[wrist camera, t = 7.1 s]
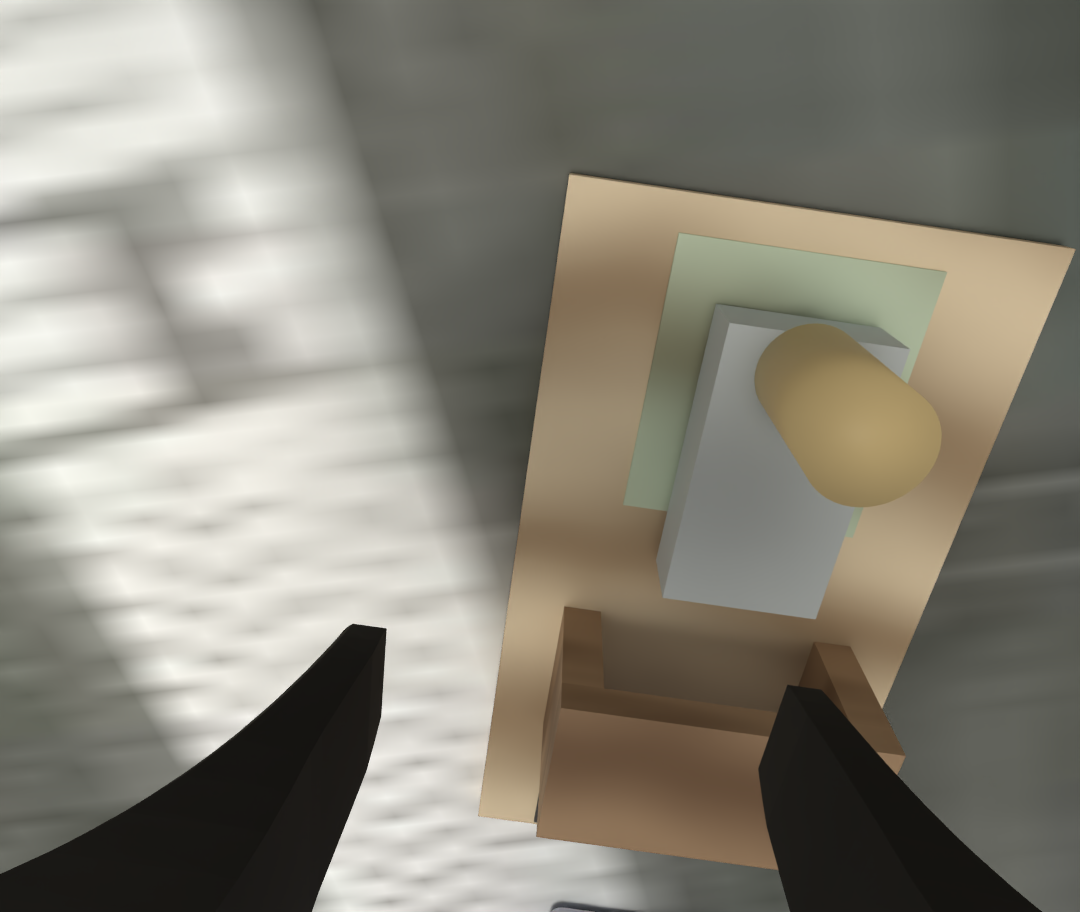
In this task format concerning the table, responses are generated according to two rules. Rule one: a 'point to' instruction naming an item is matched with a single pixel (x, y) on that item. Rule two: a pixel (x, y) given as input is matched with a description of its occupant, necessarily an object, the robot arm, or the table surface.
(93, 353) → the table surface
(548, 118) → the table surface
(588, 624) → the tunnel
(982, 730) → the table surface
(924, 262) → the board
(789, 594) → the tan-topped grey block
